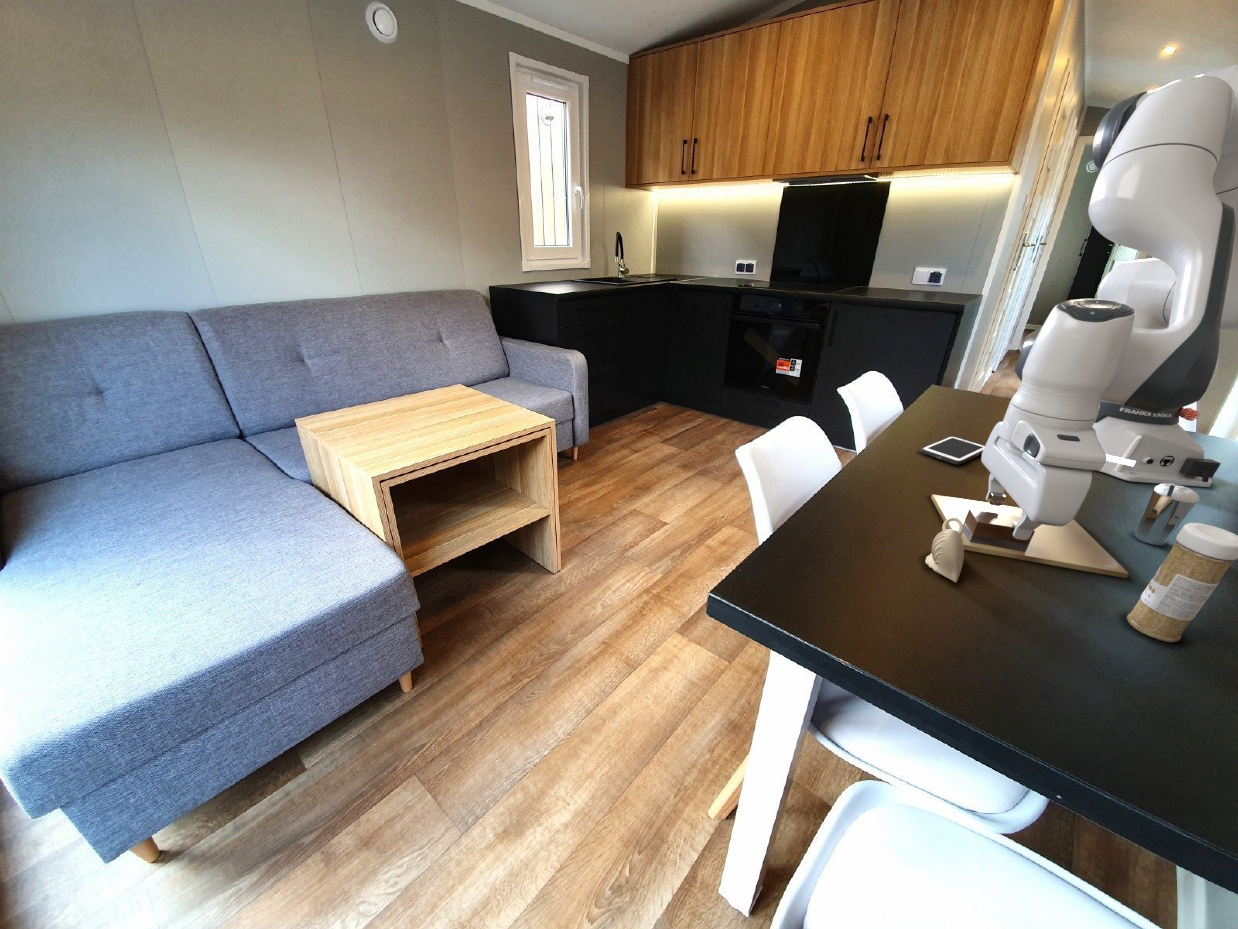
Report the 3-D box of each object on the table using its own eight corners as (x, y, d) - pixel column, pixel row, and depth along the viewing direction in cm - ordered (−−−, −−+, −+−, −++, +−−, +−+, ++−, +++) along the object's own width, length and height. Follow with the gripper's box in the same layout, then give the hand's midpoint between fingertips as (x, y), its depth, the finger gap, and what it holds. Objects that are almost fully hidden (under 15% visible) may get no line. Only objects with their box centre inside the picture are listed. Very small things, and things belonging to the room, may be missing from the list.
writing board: (1067, 519, 80) (1070, 515, 79) (1126, 578, 66) (1129, 573, 65) (930, 498, 85) (932, 494, 84) (958, 548, 71) (960, 544, 71)
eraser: (1014, 537, 73) (1023, 517, 71) (1025, 552, 69) (1035, 531, 68) (961, 528, 75) (969, 508, 73) (969, 542, 71) (977, 521, 70)
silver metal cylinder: (1119, 535, 76) (1151, 478, 71) (1137, 529, 78) (1170, 473, 73) (1158, 552, 72) (1194, 492, 68) (1176, 544, 74) (1212, 486, 70)
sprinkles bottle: (1125, 610, 60) (1183, 516, 54) (1178, 630, 57) (1245, 533, 51) (1125, 629, 57) (1186, 532, 51) (1181, 651, 54) (1252, 550, 48)
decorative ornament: (920, 570, 66) (932, 537, 64) (933, 544, 72) (944, 513, 69) (955, 584, 64) (969, 550, 61) (965, 556, 69) (978, 524, 67)
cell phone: (918, 452, 103) (919, 448, 102) (950, 439, 111) (952, 435, 110) (957, 466, 97) (959, 461, 97) (989, 451, 105) (990, 446, 104)
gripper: (987, 403, 74) (958, 483, 80) (1050, 456, 57) (1006, 554, 63) (1036, 408, 73) (1002, 490, 79) (1116, 464, 55) (1065, 564, 61)
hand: (1004, 519), depth 70 cm, fingers open, 8 cm apart
